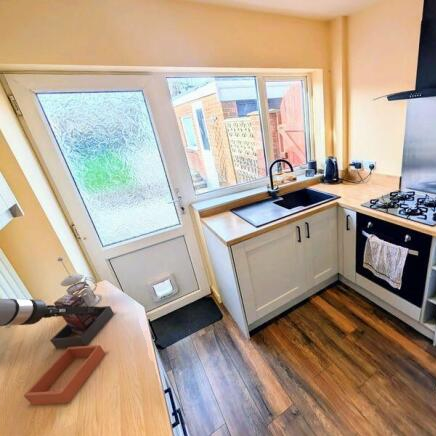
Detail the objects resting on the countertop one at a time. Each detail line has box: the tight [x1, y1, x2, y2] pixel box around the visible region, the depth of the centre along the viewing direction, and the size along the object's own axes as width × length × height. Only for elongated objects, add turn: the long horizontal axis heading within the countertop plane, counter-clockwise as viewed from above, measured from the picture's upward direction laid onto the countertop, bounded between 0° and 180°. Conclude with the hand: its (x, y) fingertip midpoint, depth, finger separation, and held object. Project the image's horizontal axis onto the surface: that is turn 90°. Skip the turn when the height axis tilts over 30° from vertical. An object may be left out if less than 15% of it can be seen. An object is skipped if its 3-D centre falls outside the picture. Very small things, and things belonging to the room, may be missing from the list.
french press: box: [56, 256, 100, 307], centre depth 107 cm, size 10×12×25 cm
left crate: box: [23, 344, 106, 406], centre depth 78 cm, size 12×16×4 cm
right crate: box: [49, 305, 115, 350], centre depth 96 cm, size 12×16×4 cm
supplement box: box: [53, 294, 97, 335], centre depth 94 cm, size 9×5×16 cm, turn 76°
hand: (85, 311), depth 97 cm, fingers closed on supplement box, 9 cm apart
